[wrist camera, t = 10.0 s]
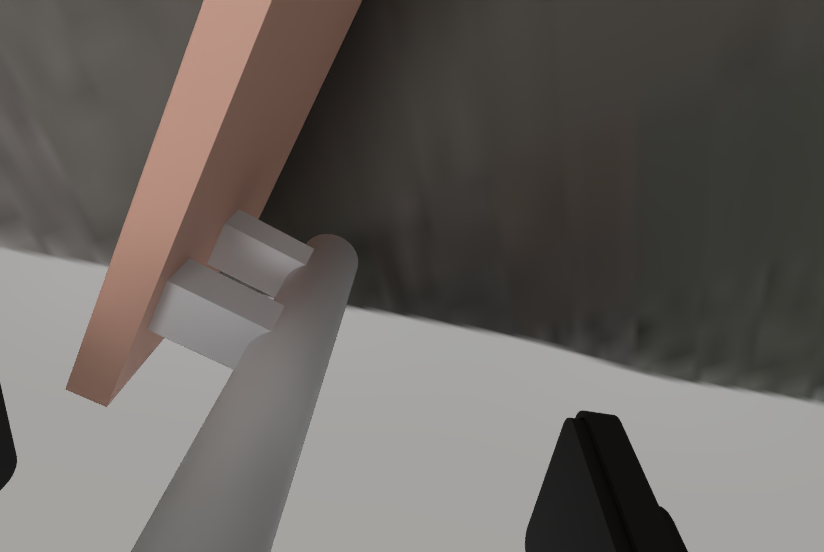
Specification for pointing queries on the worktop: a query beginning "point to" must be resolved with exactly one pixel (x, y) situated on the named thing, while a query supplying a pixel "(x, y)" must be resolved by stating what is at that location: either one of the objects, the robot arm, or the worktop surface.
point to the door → (228, 270)
